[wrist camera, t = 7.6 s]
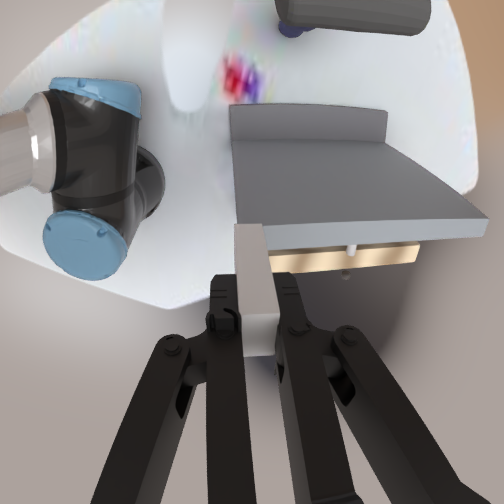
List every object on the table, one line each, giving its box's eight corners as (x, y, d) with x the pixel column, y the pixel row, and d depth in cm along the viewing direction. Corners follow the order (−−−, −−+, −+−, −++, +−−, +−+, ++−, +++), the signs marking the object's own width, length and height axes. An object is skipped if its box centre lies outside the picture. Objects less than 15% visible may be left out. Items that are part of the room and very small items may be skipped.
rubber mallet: (253, 50, 39) (293, 23, 15) (248, 10, 35) (278, -63, 10) (327, 47, 39) (442, 41, 14) (323, 9, 34) (430, -35, 10)
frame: (247, 219, 51) (257, 287, 37) (246, 200, 49) (256, 265, 35) (372, 213, 53) (418, 271, 38) (376, 196, 51) (425, 251, 36)
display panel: (234, 188, 53) (242, 310, 29) (229, 105, 44) (234, 154, 20) (374, 184, 55) (463, 282, 30) (383, 110, 46) (503, 170, 21)
